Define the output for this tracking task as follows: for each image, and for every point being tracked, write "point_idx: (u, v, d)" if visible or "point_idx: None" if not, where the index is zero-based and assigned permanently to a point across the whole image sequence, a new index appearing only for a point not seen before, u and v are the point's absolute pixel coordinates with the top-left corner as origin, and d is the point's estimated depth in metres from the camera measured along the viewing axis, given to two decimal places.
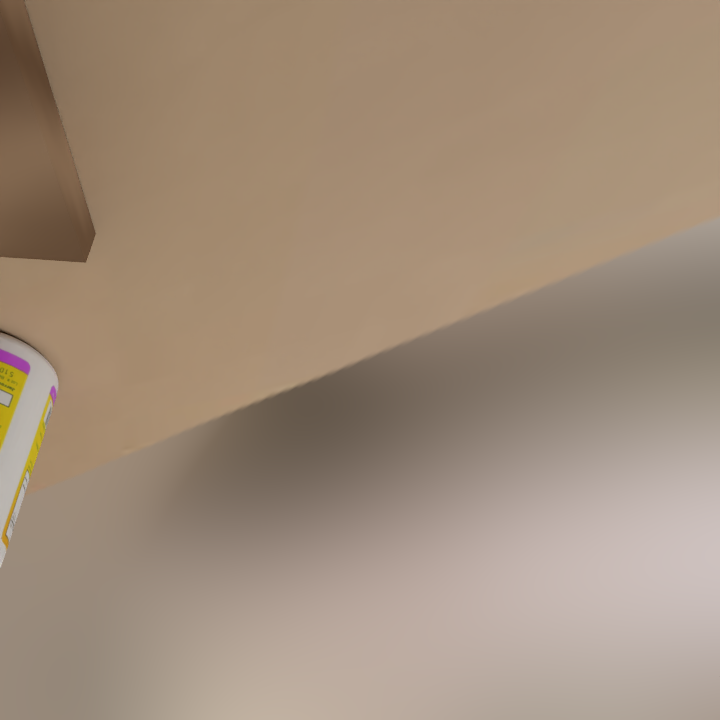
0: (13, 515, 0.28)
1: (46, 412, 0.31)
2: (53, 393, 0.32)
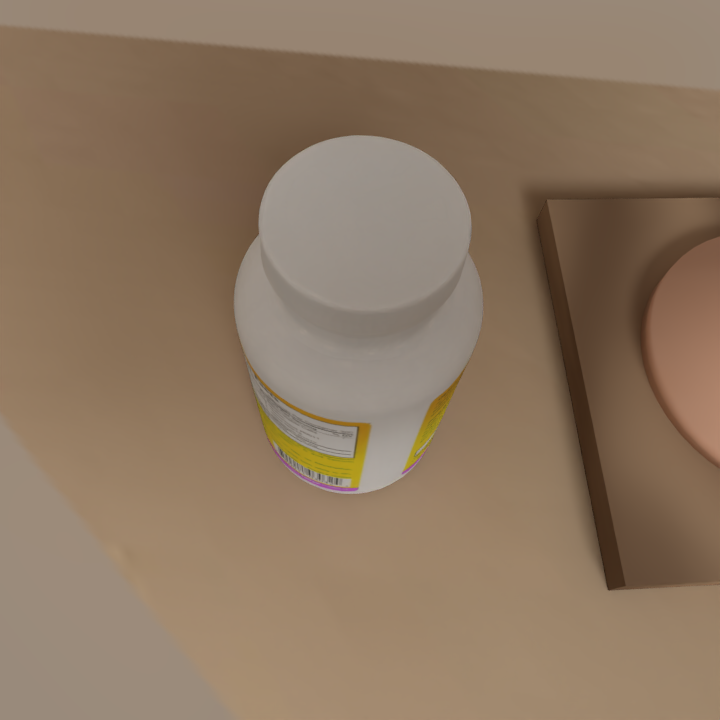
0: (349, 436, 0.18)
1: (350, 481, 0.23)
2: (345, 489, 0.24)
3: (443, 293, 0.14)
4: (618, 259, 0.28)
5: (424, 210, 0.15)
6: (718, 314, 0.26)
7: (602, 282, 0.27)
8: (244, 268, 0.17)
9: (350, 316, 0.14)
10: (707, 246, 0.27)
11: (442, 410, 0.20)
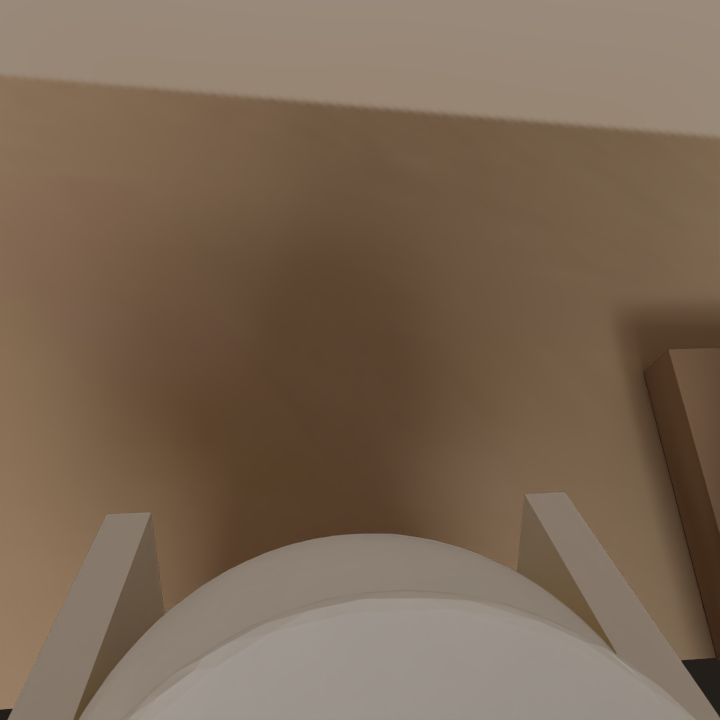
0: None
1: None
2: None
3: None
4: None
5: None
6: None
7: None
8: None
9: None
10: None
11: None
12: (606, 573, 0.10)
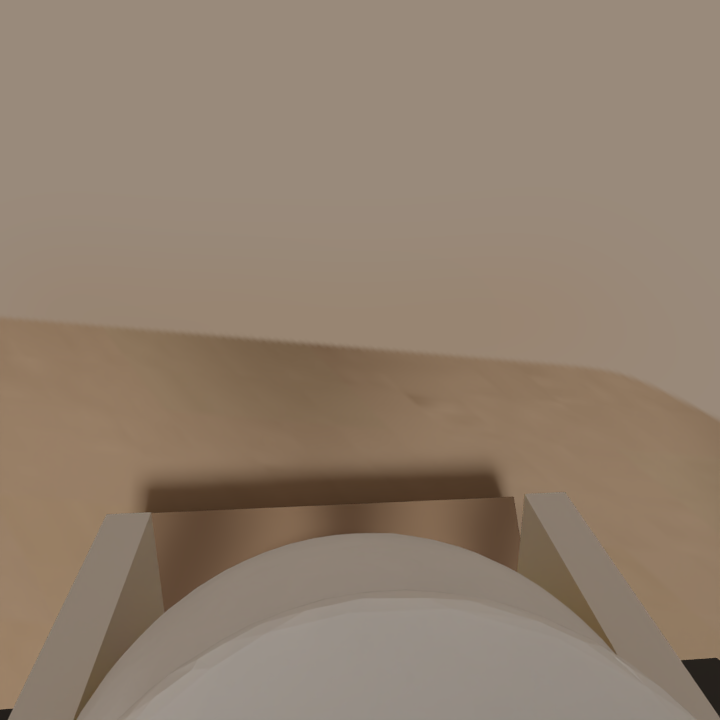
0: None
1: None
2: None
3: None
4: None
5: None
6: None
7: None
8: None
9: None
10: None
11: None
12: (606, 573, 0.10)
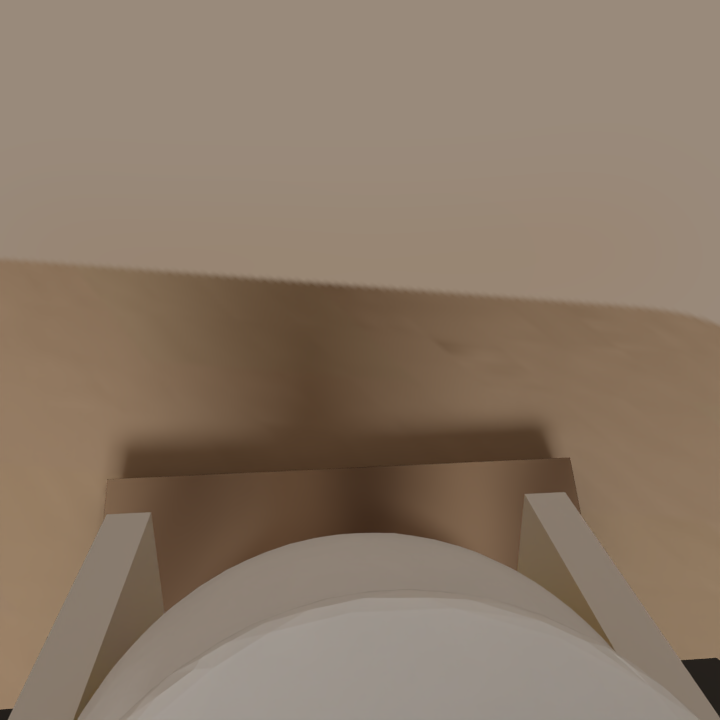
0: None
1: None
2: None
3: None
4: (179, 570, 0.21)
5: None
6: None
7: None
8: None
9: None
10: None
11: None
12: (606, 573, 0.10)
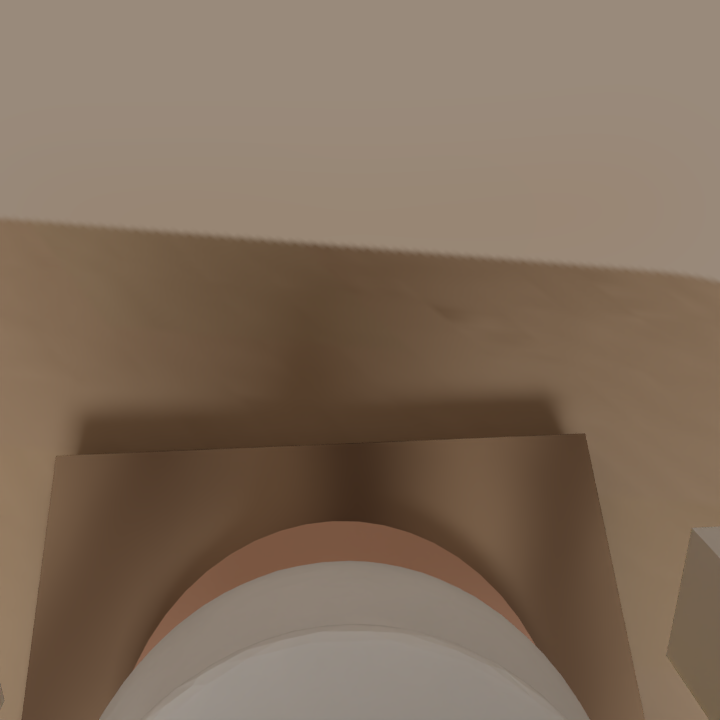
0: None
1: None
2: None
3: None
4: (136, 559, 0.19)
5: None
6: None
7: (98, 604, 0.18)
8: None
9: None
10: (252, 550, 0.18)
11: None
12: None
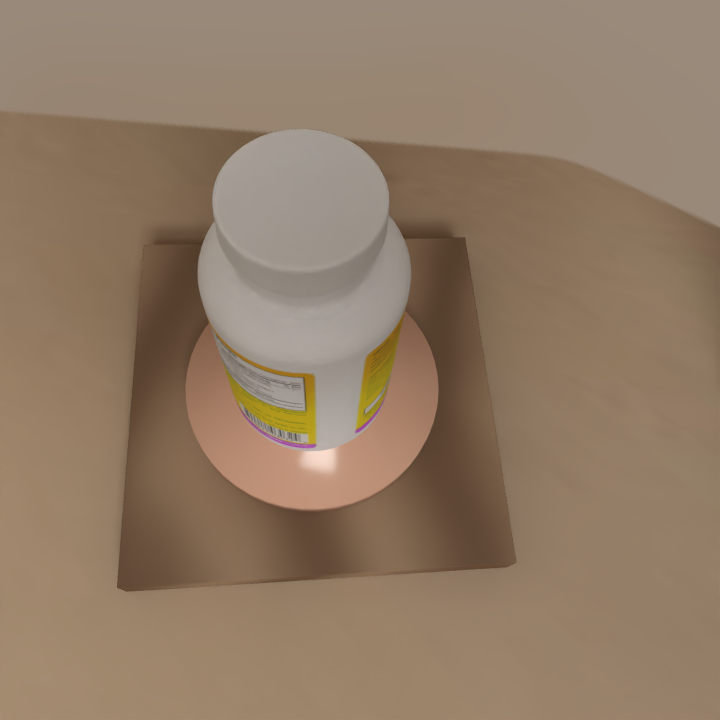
0: (298, 388, 0.21)
1: (307, 437, 0.26)
2: (305, 446, 0.27)
3: (365, 258, 0.17)
4: (194, 298, 0.32)
5: (350, 190, 0.18)
6: None
7: (173, 319, 0.31)
8: (206, 243, 0.20)
9: (286, 276, 0.17)
10: None
11: (382, 369, 0.23)
12: None
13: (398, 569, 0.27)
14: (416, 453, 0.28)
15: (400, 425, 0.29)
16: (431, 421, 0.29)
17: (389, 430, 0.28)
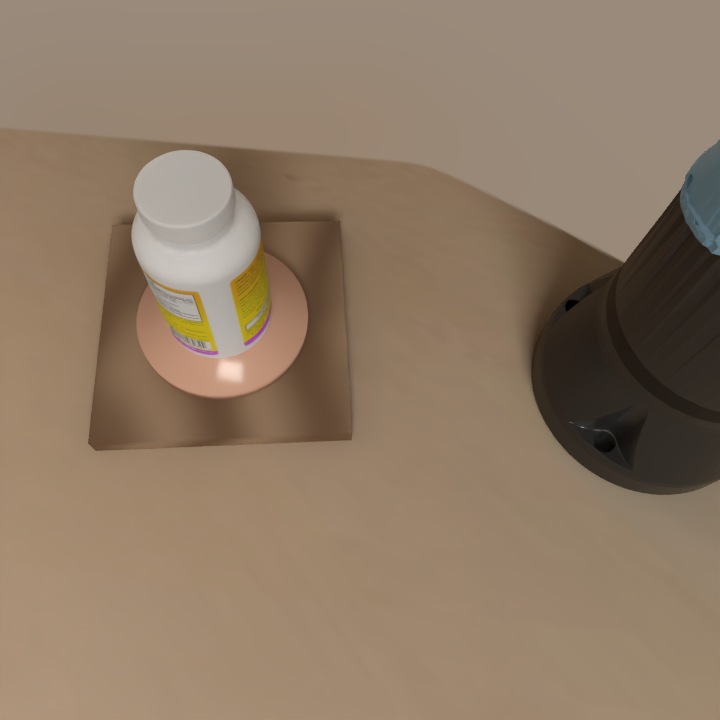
0: (192, 303, 0.35)
1: (210, 344, 0.40)
2: (211, 352, 0.41)
3: (216, 221, 0.32)
4: None
5: (210, 184, 0.32)
6: None
7: (131, 275, 0.45)
8: (136, 215, 0.34)
9: (171, 230, 0.31)
10: None
11: (249, 296, 0.37)
12: None
13: (273, 435, 0.41)
14: (288, 361, 0.42)
15: (279, 344, 0.43)
16: (300, 341, 0.43)
17: (272, 347, 0.43)
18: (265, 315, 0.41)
